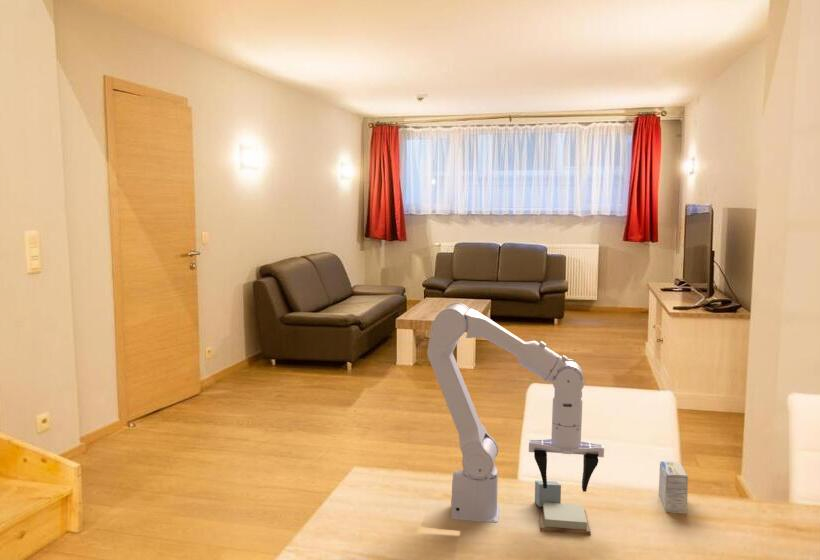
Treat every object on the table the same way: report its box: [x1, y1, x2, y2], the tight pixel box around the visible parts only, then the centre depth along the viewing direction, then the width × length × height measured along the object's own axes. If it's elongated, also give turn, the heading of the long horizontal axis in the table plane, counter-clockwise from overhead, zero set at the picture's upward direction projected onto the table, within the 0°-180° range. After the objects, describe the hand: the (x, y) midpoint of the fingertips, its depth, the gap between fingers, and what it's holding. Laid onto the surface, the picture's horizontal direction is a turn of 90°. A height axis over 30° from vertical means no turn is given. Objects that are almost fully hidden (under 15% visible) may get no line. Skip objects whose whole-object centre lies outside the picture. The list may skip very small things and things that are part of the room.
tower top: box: [543, 502, 587, 530], centre depth 133 cm, size 8×8×2 cm
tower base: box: [538, 506, 592, 536], centre depth 134 cm, size 10×10×2 cm
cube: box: [534, 480, 562, 508], centre depth 140 cm, size 4×4×4 cm
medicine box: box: [658, 460, 689, 514], centre depth 140 cm, size 8×4×9 cm, turn 168°
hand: (564, 488), depth 133 cm, fingers open, 7 cm apart
